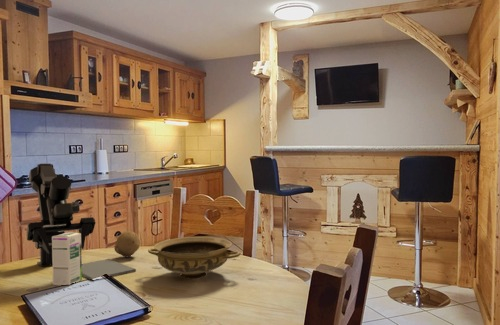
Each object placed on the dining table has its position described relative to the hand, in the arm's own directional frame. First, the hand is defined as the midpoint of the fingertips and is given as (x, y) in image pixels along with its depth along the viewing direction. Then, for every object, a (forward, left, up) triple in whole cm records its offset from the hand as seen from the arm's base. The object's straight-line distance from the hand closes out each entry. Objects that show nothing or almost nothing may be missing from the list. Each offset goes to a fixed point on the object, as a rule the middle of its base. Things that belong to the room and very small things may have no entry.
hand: (66, 250), depth 113 cm
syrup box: (+1, 0, -10) cm, 10 cm away
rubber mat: (-5, +13, -9) cm, 17 cm away
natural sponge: (-15, +28, -10) cm, 33 cm away
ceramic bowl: (+23, +30, -10) cm, 39 cm away
